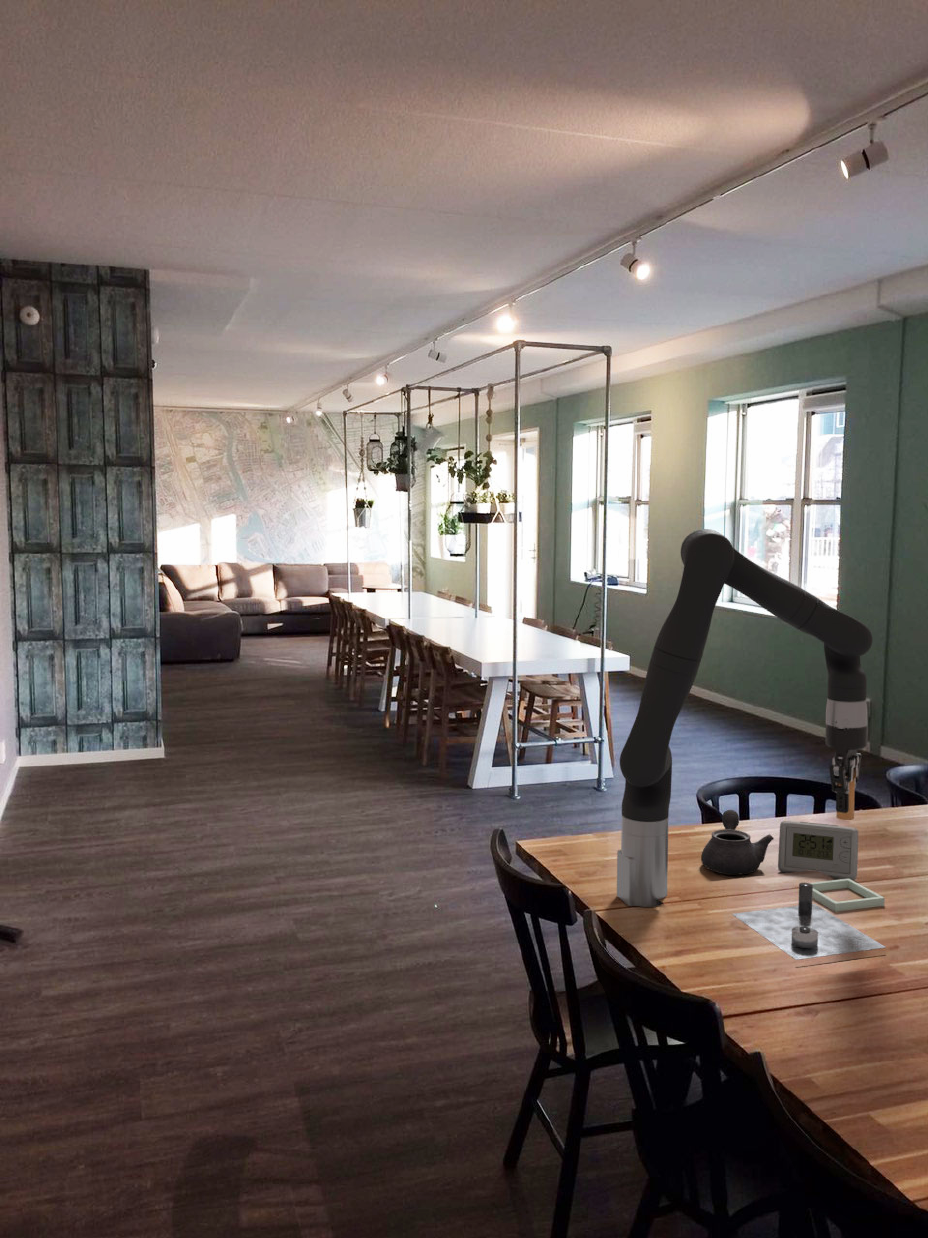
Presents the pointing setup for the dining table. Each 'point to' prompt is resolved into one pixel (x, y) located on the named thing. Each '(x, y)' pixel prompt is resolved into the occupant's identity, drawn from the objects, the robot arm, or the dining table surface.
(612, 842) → the dining table surface
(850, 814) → the pin
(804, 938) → the crank
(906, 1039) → the dining table surface
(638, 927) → the dining table surface
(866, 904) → the tray
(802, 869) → the digital clock
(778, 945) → the crank base
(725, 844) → the teapot
